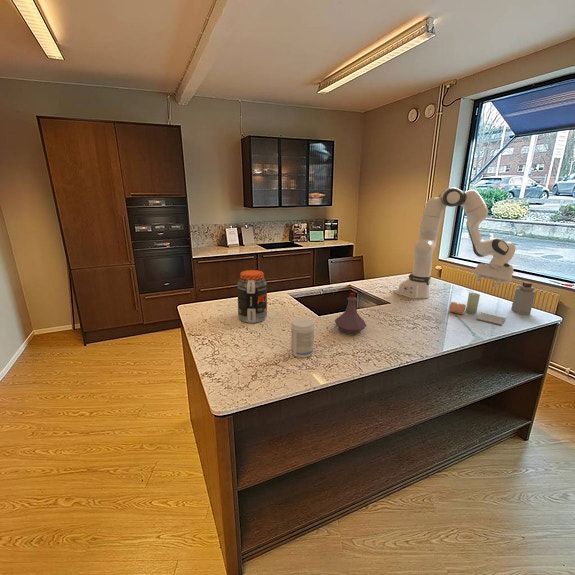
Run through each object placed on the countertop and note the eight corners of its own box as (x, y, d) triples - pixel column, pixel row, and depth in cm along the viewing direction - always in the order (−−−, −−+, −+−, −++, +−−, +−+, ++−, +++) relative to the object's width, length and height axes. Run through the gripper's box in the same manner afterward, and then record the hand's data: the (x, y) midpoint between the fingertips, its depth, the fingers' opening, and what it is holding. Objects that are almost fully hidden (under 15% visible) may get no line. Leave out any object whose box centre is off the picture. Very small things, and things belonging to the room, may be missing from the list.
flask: (327, 326, 167) (329, 290, 161) (354, 322, 173) (357, 286, 167) (344, 340, 153) (347, 300, 146) (373, 335, 158) (377, 296, 152)
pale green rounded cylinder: (464, 312, 189) (467, 294, 186) (466, 309, 193) (470, 292, 190) (475, 314, 185) (478, 296, 182) (477, 311, 190) (480, 294, 186)
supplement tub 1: (262, 325, 168) (262, 277, 160) (234, 322, 171) (232, 275, 163) (270, 313, 183) (270, 269, 175) (244, 311, 185) (242, 268, 178)
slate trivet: (476, 319, 178) (476, 318, 178) (480, 313, 187) (481, 312, 187) (501, 325, 171) (501, 324, 171) (505, 319, 179) (505, 317, 179)
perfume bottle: (530, 313, 188) (537, 284, 182) (518, 313, 188) (525, 284, 182) (522, 309, 194) (529, 281, 188) (511, 309, 194) (517, 280, 189)
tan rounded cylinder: (448, 310, 186) (451, 300, 187) (450, 312, 191) (453, 303, 192) (461, 313, 182) (464, 303, 183) (463, 315, 187) (466, 306, 187)
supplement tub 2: (317, 352, 141) (318, 321, 137) (304, 361, 134) (305, 329, 130) (300, 345, 147) (300, 315, 143) (286, 353, 140) (286, 322, 136)
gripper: (478, 259, 199) (467, 276, 197) (515, 266, 183) (503, 285, 181) (480, 265, 203) (469, 282, 201) (516, 272, 187) (505, 291, 185)
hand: (485, 284), depth 191 cm, fingers open, 8 cm apart
